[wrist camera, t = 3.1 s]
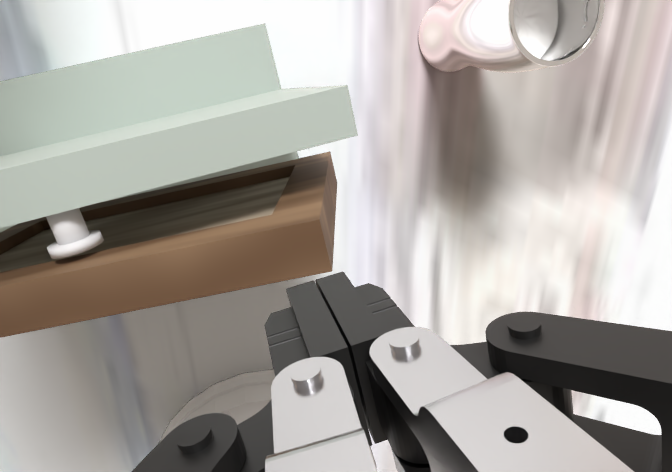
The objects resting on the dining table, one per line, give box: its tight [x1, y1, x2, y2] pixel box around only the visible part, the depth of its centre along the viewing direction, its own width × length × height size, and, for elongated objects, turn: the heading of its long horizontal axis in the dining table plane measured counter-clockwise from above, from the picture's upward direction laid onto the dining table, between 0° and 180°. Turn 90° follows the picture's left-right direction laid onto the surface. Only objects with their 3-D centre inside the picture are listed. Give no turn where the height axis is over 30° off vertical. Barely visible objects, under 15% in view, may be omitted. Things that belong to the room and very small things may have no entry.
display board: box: [0, 24, 358, 259], centre depth 29 cm, size 12×24×24 cm, turn 103°
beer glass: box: [418, 0, 605, 73], centre depth 37 cm, size 7×7×15 cm
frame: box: [0, 152, 337, 337], centre depth 25 cm, size 2×20×14 cm, turn 103°
